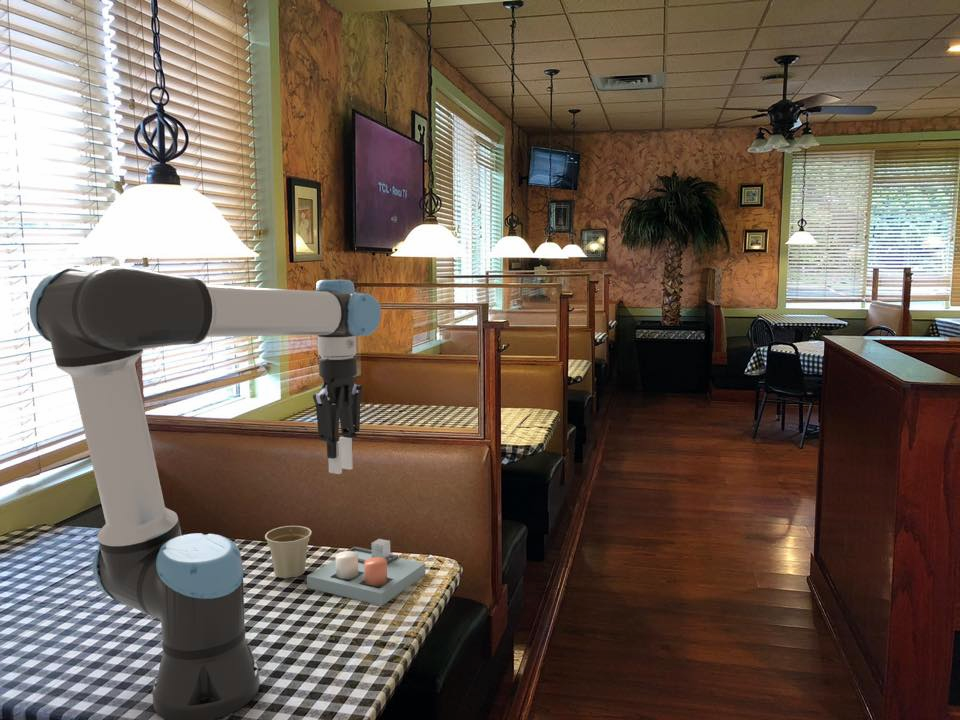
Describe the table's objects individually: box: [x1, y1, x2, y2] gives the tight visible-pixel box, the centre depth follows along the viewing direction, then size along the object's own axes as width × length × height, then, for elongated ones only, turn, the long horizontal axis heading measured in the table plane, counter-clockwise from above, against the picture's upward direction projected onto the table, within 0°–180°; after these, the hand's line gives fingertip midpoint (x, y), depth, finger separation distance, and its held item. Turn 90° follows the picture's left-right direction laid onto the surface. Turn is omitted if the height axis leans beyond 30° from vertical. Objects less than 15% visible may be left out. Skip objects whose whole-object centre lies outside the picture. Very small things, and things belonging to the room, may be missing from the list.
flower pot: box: [264, 525, 312, 580], centre depth 156 cm, size 9×9×9 cm
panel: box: [306, 546, 426, 607], centre depth 152 cm, size 16×18×3 cm
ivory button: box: [335, 550, 358, 579], centre depth 149 cm, size 4×4×4 cm
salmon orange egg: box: [364, 557, 387, 587], centre depth 146 cm, size 4×4×4 cm
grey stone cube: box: [370, 538, 391, 561], centre depth 156 cm, size 3×3×4 cm
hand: (340, 470), depth 152 cm, fingers open, 3 cm apart
